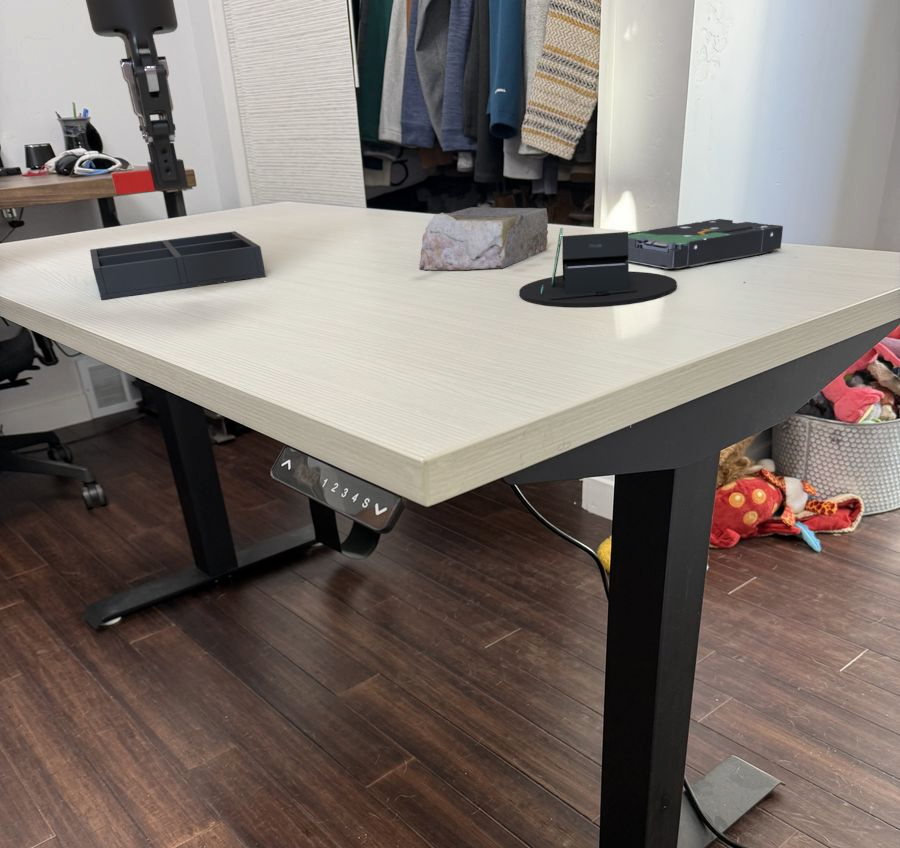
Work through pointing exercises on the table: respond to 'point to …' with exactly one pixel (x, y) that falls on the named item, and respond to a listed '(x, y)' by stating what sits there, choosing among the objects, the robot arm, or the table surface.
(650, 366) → the table surface
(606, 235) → the black display stand
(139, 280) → the tray
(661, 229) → the disk drive
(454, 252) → the geological specimen
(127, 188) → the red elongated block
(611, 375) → the table surface
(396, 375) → the table surface
